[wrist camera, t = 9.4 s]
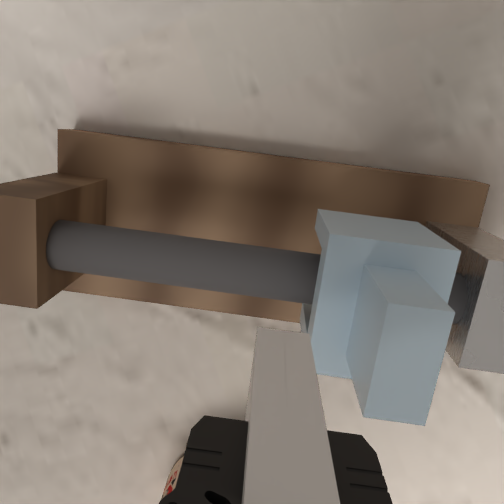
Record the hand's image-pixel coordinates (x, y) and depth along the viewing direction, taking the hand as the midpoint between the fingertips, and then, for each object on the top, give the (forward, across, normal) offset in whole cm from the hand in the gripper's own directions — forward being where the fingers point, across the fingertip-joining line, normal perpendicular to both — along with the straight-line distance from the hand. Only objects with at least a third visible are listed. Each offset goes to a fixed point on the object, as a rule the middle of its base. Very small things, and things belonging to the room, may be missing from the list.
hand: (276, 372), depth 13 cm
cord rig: (+17, -1, 0) cm, 17 cm away
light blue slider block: (+11, +4, 0) cm, 11 cm away
